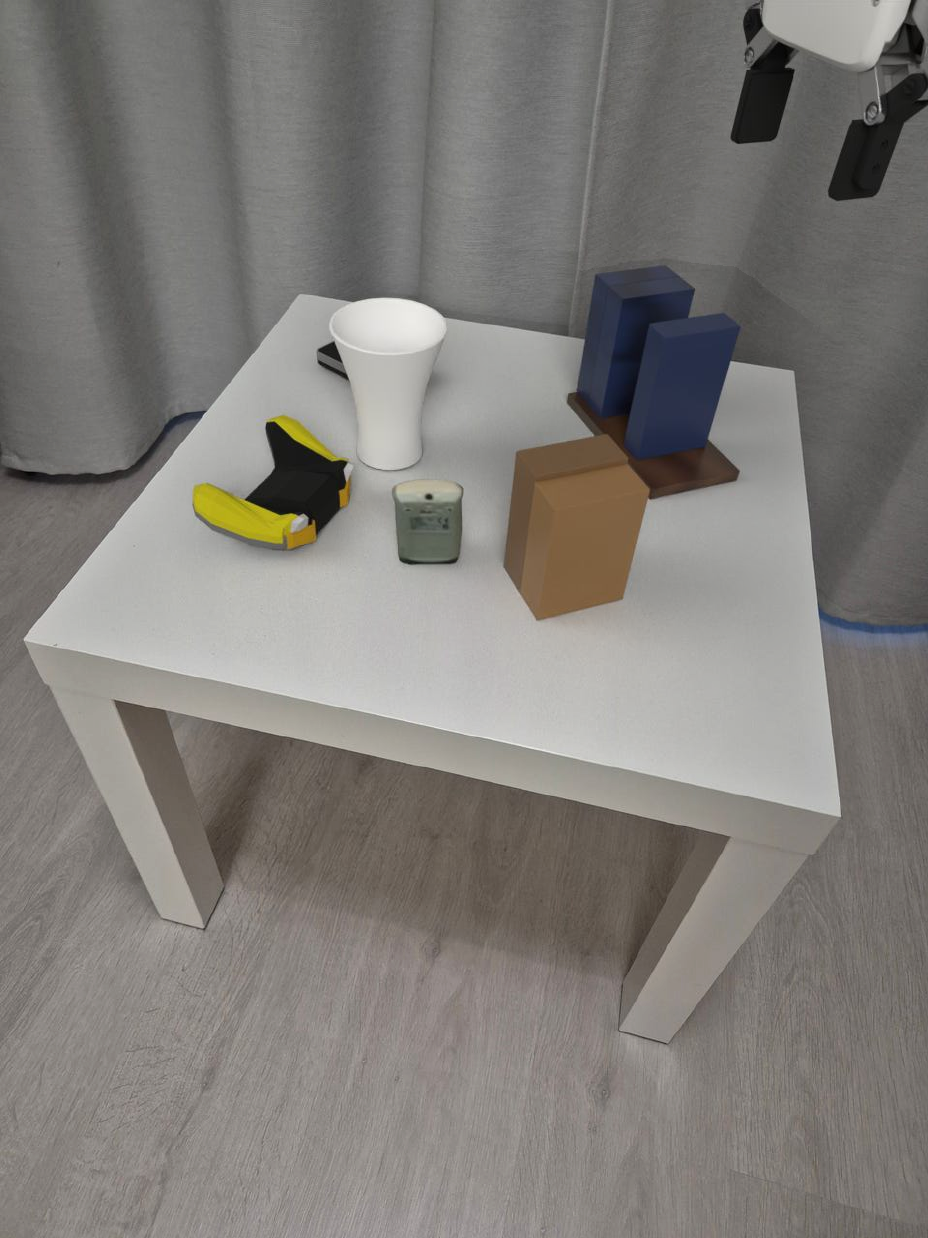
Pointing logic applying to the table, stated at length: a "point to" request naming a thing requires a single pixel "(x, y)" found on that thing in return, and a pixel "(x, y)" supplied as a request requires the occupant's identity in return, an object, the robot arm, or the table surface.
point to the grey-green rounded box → (428, 521)
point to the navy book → (680, 384)
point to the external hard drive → (331, 359)
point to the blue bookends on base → (637, 373)
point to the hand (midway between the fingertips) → (799, 167)
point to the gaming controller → (281, 493)
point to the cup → (388, 373)
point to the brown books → (573, 525)
